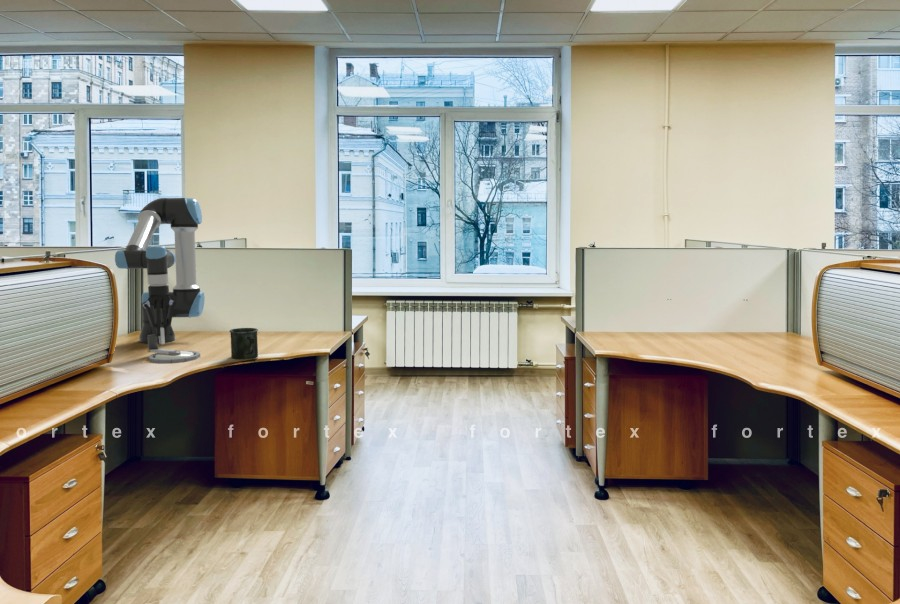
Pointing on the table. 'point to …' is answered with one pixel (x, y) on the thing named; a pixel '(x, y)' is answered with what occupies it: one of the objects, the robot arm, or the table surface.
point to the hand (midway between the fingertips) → (162, 343)
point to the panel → (153, 359)
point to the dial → (165, 350)
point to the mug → (244, 344)
